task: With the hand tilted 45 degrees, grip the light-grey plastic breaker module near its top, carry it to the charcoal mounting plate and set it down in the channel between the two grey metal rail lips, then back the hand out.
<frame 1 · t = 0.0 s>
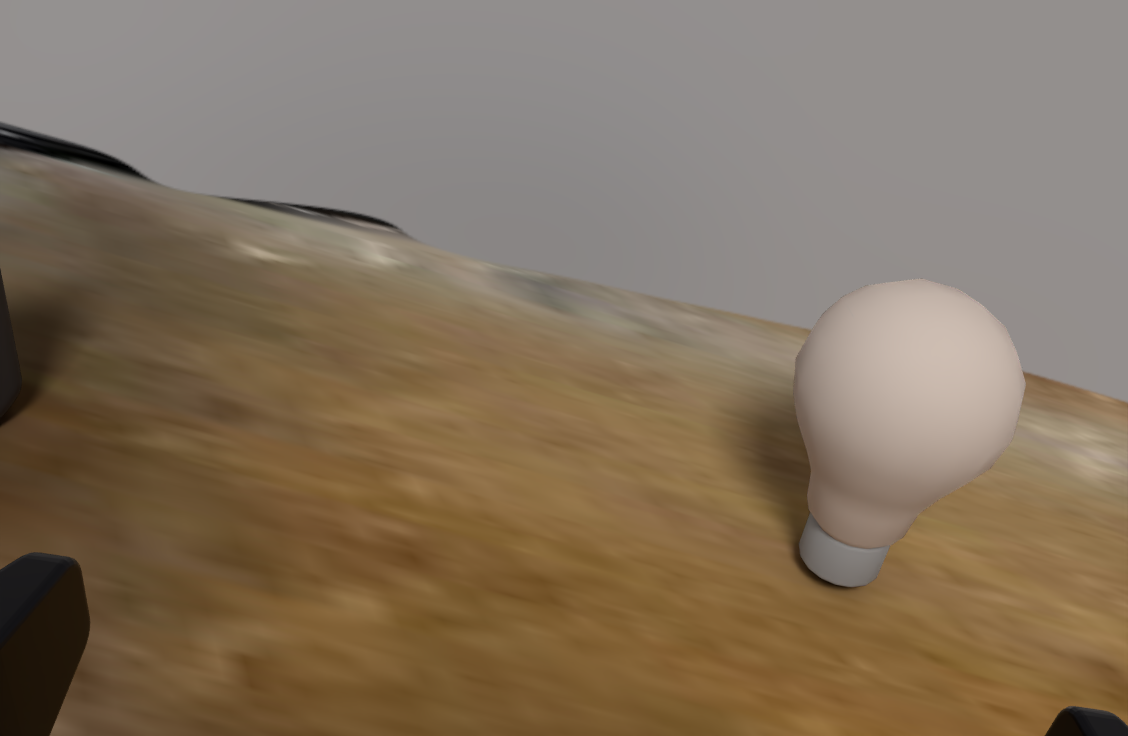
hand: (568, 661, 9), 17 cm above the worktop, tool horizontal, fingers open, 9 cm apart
light bulb: (831, 576, 35), on the worktop
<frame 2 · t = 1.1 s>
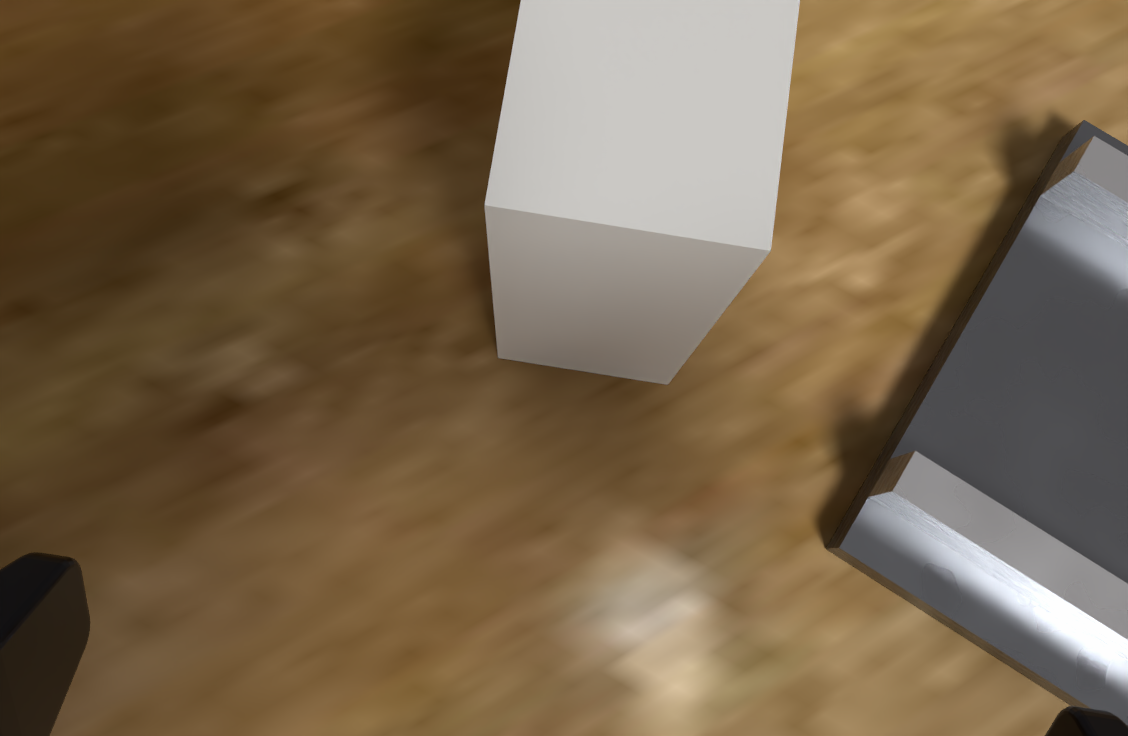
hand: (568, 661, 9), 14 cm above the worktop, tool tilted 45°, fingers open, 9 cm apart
breaker module: (598, 269, 25), on the worktop
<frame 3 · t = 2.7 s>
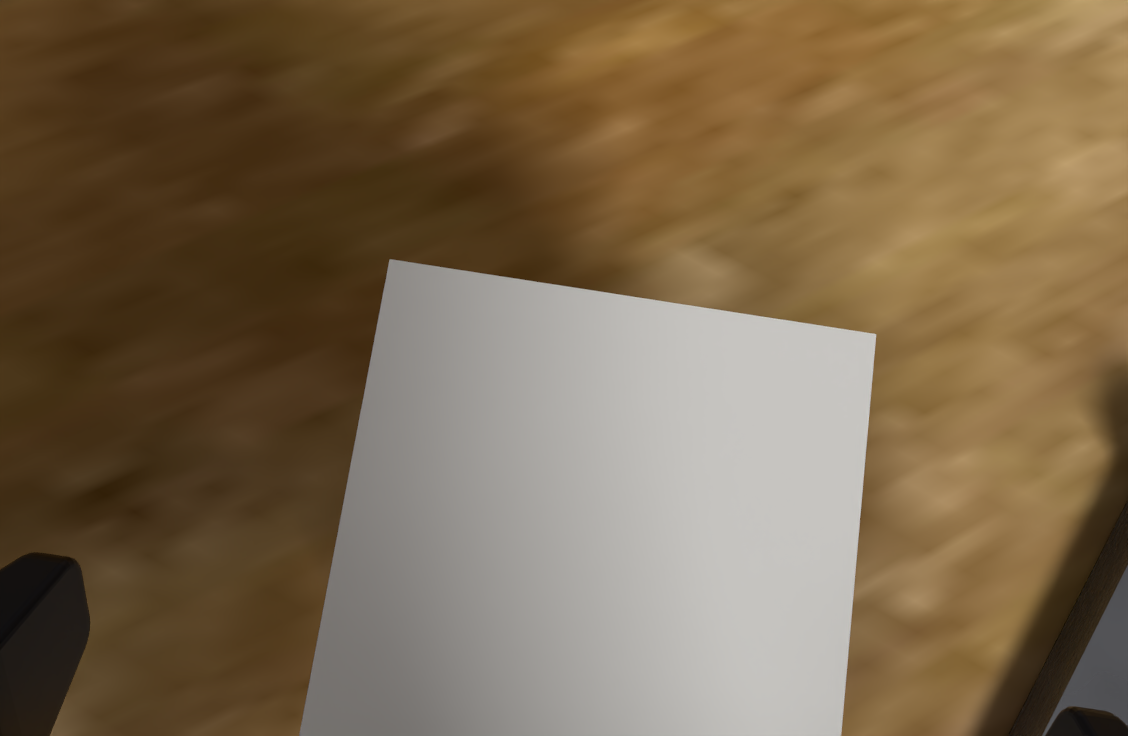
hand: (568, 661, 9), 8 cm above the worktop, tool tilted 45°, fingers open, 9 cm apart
breaker module: (549, 591, 18), on the worktop
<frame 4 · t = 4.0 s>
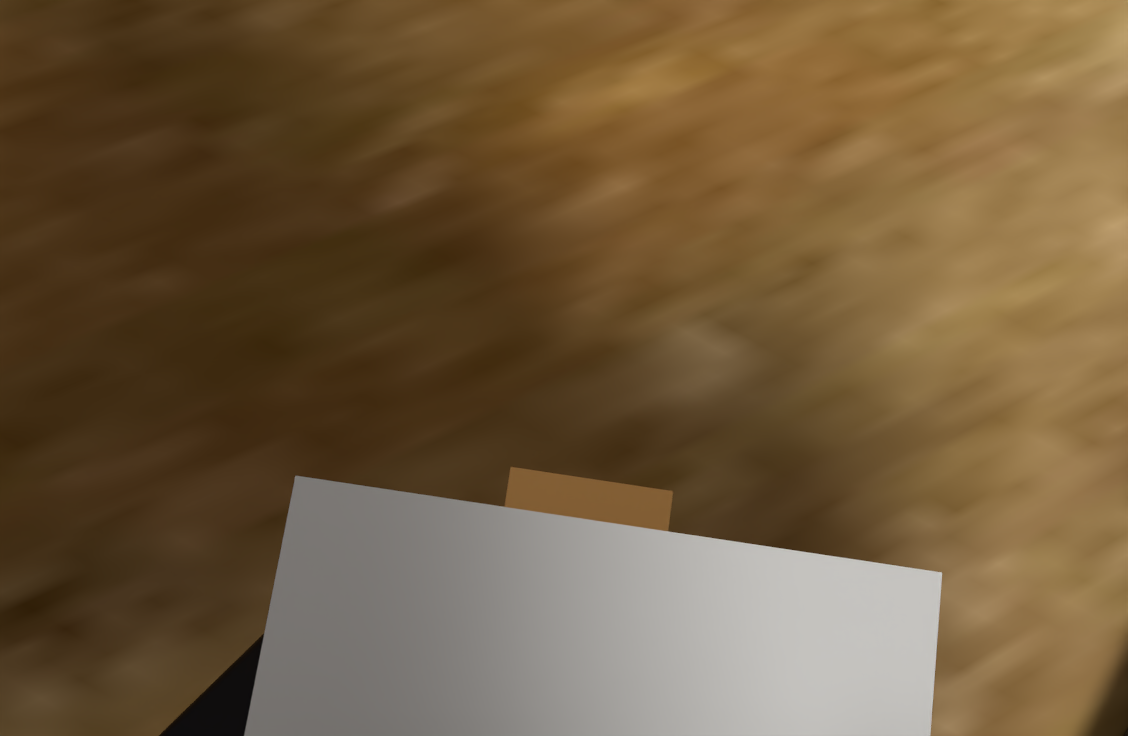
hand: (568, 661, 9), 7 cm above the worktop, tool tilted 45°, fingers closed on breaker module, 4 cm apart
breaker module: (534, 717, 16), on the worktop, touching gripper
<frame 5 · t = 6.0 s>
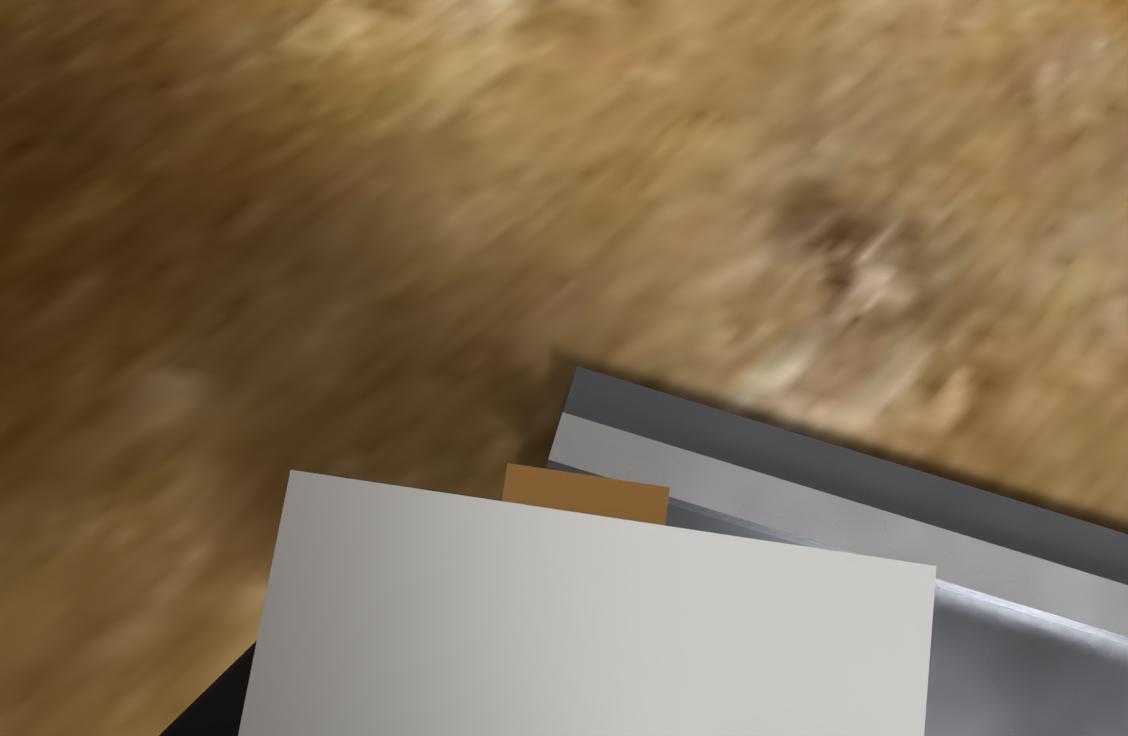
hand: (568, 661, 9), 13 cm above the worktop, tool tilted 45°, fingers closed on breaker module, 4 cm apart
breaker module: (532, 715, 16), point 7 cm above the worktop, touching gripper
when the fingers open (8 cm above the worktop, at t = 8.3 s): breaker module stays where it is, resting on rail plate.
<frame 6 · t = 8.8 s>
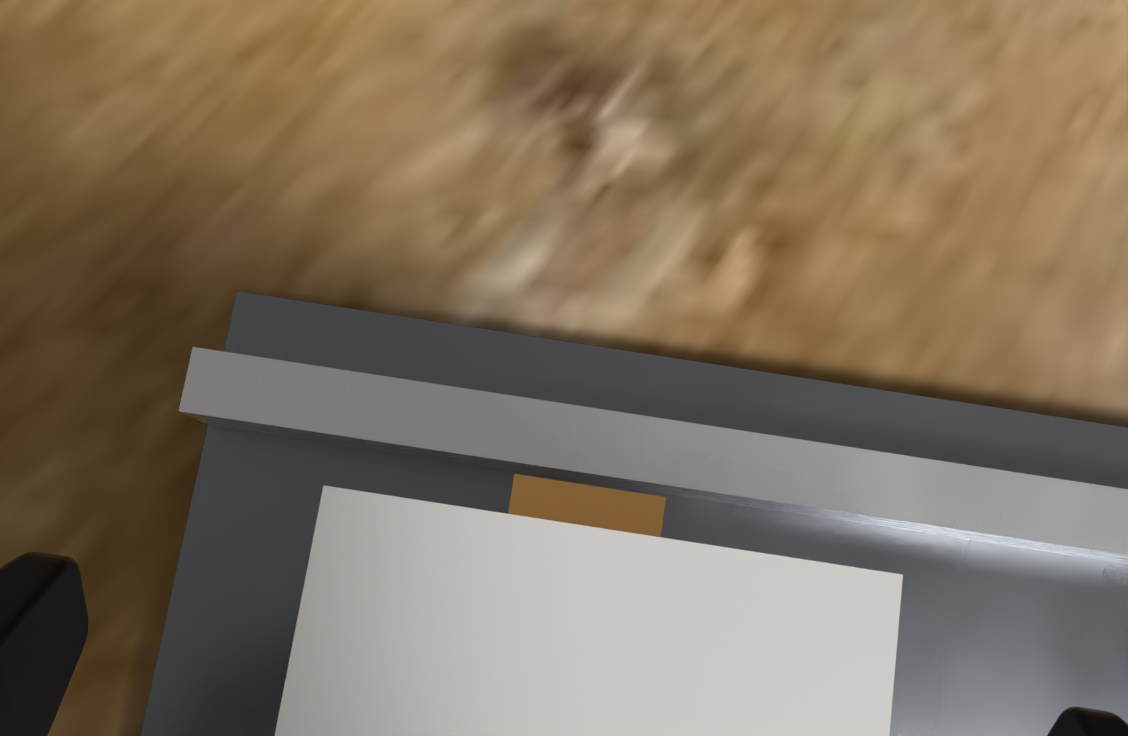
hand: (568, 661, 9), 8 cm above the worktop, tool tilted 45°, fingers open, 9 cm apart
breaker module: (535, 710, 16), point 1 cm above the worktop, touching rail plate
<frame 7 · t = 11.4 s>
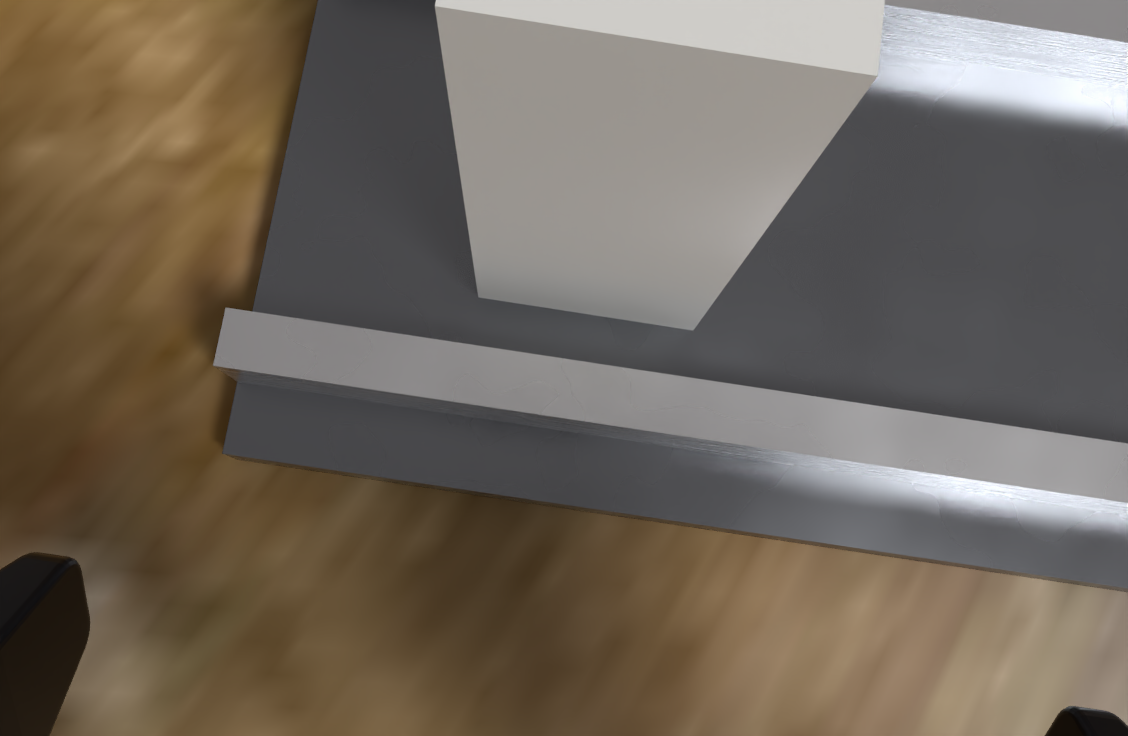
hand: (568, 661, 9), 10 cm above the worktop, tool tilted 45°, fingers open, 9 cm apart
rail plate: (799, 235, 21), on the worktop
breaker module: (604, 186, 20), point 1 cm above the worktop, touching rail plate
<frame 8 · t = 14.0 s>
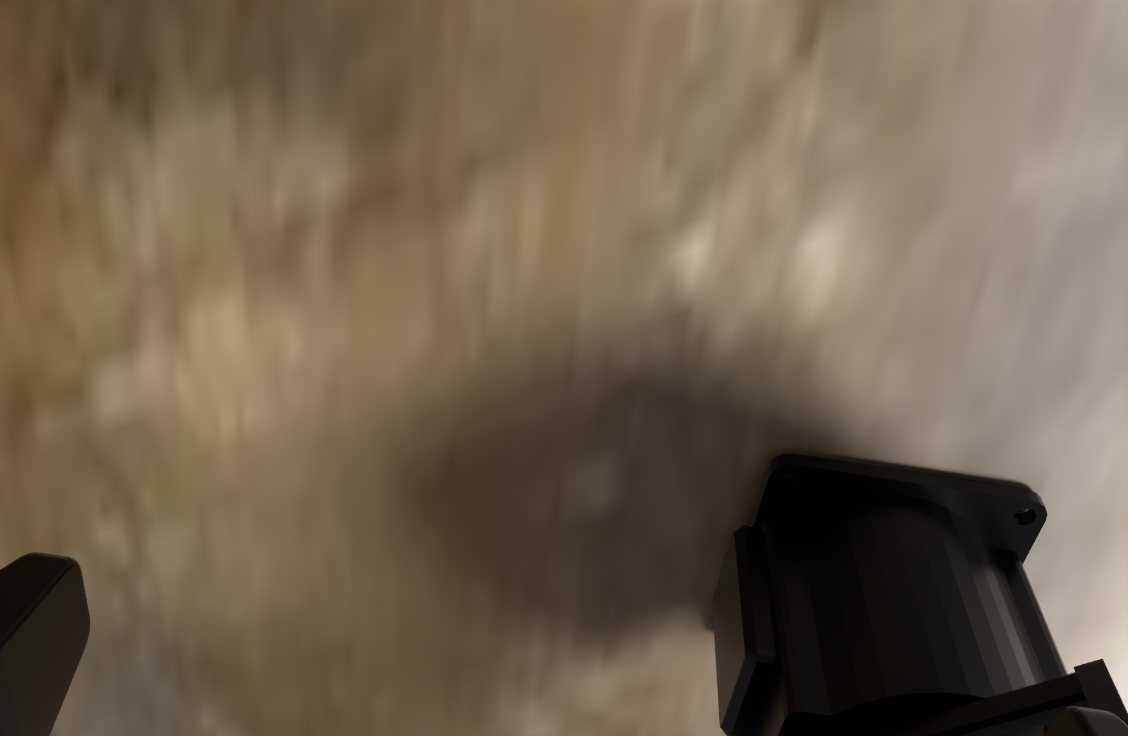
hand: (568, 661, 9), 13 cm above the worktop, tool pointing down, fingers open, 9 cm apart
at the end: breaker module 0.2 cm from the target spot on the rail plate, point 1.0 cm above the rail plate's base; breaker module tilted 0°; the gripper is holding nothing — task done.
